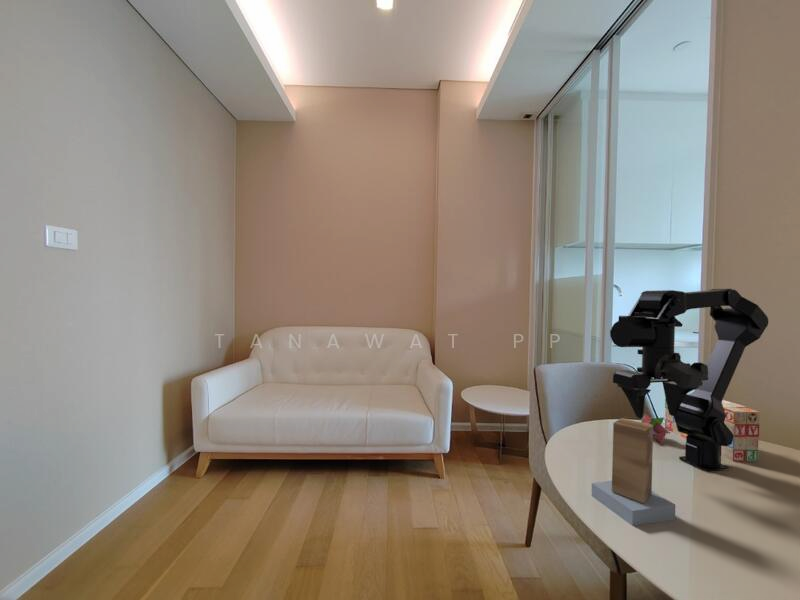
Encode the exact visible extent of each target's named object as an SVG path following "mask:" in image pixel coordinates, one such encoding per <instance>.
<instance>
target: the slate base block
mask: <svg viewBox="0 0 800 600" xmlns="http://www.w3.org/2000/svg"><path fill="white" fill-rule="evenodd" d="M591 497H592V498H593V499H595V500H596V501H598V502H599V503H600V504H602V505H603V506H605V507H606V508H607V509H609V510H610V511H611V512H613V513H614V514H616V515H617V516H618V517H619V518H621V519H622V520H624V521H625V522H626V523H628V524H629V525H630V526H632V527H634V526H638V525H639V526H640V525H646V524H652V523H653V524H654V523H659V522H666V521H670V520H676V504H675V503H673V502H672V501H670V500H668V499H666V498H665V497H662V496H661V495H659V494H658V493H656V492H655V491H653V490H652V494H651V495H650V497H649V498H648V499H647V500H646V502H645V503H641V502H639V501H636V500H633V499H631V498H628V497H625V496H623V495H620V494H617V493H615V492H612V480H606V481H605V480H604V481H597V482H592V483H591Z"/></svg>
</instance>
